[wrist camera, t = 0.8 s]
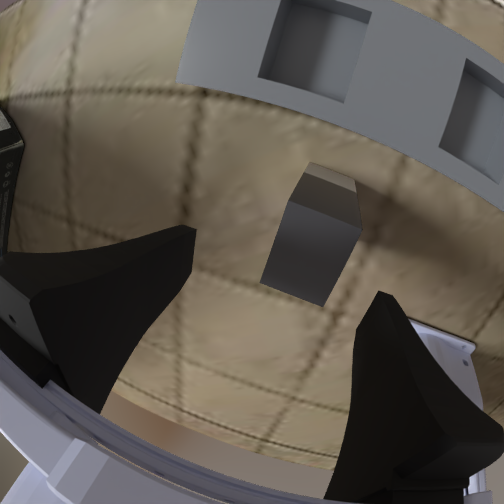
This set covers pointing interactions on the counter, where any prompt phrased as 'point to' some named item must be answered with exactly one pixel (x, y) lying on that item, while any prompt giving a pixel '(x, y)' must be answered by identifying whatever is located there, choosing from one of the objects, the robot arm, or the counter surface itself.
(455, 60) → the power strip
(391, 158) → the counter surface
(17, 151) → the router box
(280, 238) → the plug
